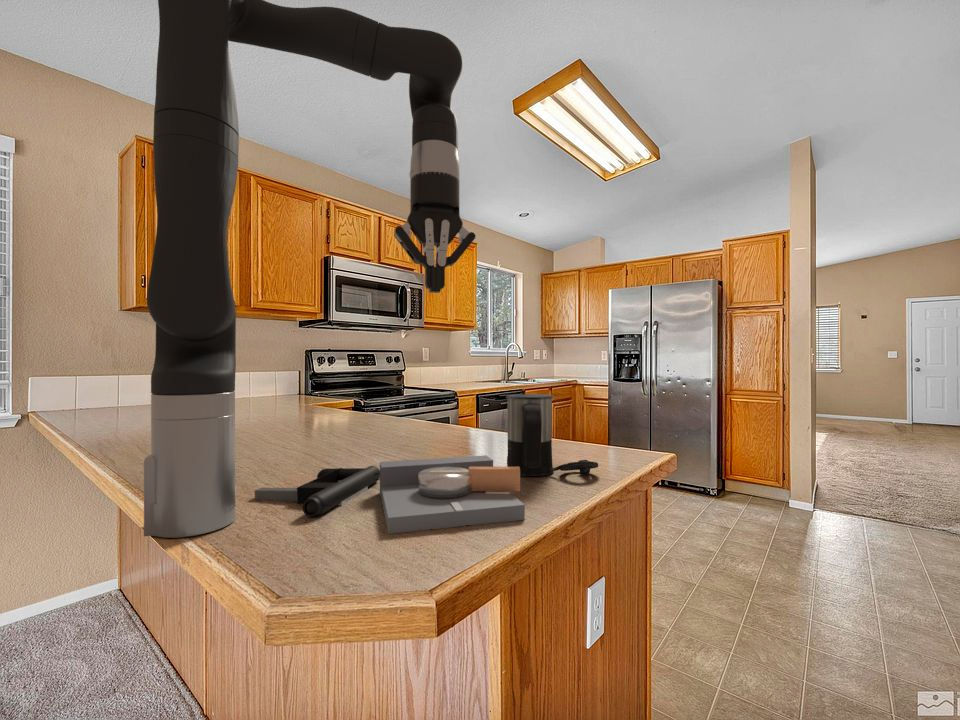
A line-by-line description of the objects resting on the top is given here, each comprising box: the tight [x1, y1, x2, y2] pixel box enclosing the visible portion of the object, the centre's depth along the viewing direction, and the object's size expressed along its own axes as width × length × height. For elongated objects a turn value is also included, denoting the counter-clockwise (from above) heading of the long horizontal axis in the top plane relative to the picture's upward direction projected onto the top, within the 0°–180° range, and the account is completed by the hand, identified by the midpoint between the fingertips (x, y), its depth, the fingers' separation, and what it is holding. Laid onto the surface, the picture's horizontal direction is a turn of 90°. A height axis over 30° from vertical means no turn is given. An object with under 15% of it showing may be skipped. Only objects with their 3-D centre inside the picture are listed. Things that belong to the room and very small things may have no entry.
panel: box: [379, 454, 526, 535], centre depth 66 cm, size 18×18×5 cm
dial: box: [418, 466, 521, 498], centre depth 66 cm, size 15×8×3 cm, turn 89°
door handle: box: [254, 465, 380, 518], centre depth 72 cm, size 3×20×16 cm
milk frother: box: [505, 393, 599, 477], centre depth 85 cm, size 14×16×15 cm
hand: (435, 292), depth 69 cm, fingers closed
